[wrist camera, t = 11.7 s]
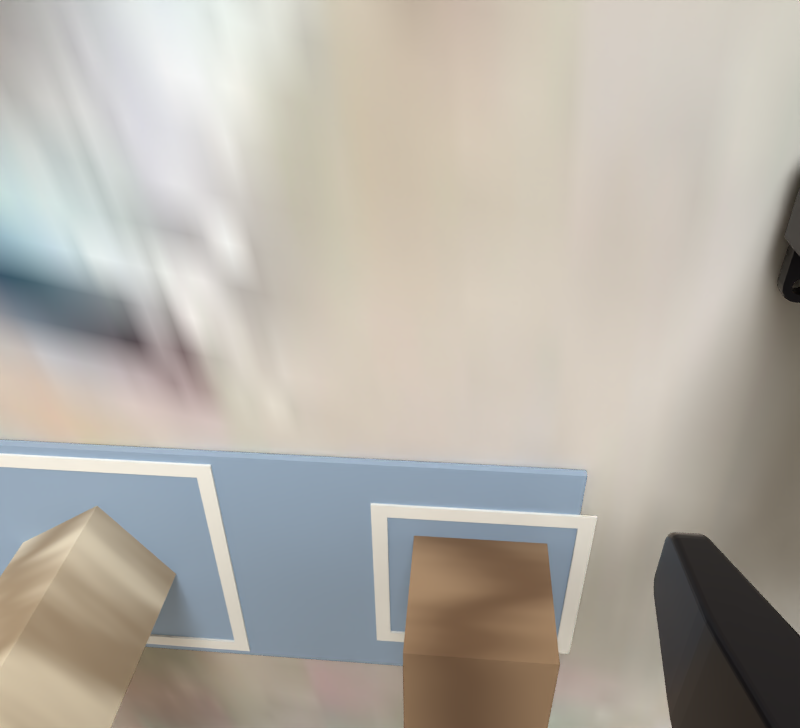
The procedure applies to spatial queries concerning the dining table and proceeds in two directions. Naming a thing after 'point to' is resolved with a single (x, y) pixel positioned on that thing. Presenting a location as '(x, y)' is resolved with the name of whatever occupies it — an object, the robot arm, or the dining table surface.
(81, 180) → the dining table surface
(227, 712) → the dining table surface
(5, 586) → the beech block
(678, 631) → the robot arm
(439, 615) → the walnut cube
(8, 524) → the blueprint mat
